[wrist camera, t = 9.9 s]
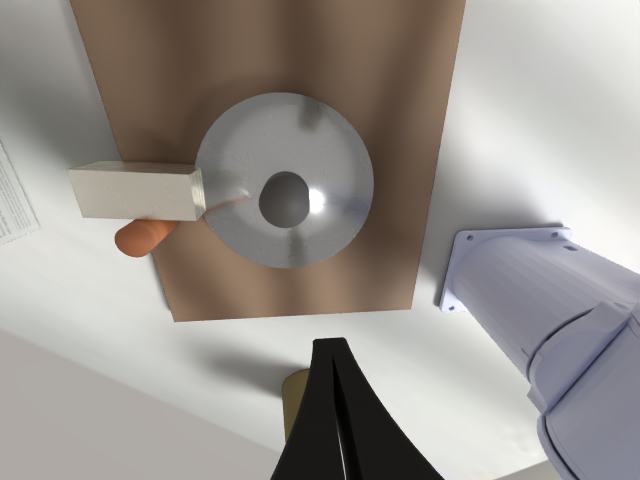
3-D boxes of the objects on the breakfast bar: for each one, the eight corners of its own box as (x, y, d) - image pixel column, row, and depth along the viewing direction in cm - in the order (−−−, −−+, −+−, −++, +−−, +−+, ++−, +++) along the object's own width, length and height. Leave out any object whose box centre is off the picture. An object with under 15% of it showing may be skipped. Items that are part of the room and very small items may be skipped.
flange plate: (382, 100, 16) (397, 97, 13) (359, 262, 20) (367, 283, 18) (79, 79, 14) (31, 71, 12) (131, 258, 19) (105, 281, 16)
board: (460, -22, 14) (533, -83, 10) (406, 301, 24) (431, 345, 19) (73, -30, 13) (-44, -103, 9) (179, 313, 23) (149, 363, 18)
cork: (275, 402, 29) (262, 553, 19) (290, 364, 26) (284, 515, 17) (327, 409, 30) (341, 555, 20) (346, 373, 28) (372, 519, 18)
